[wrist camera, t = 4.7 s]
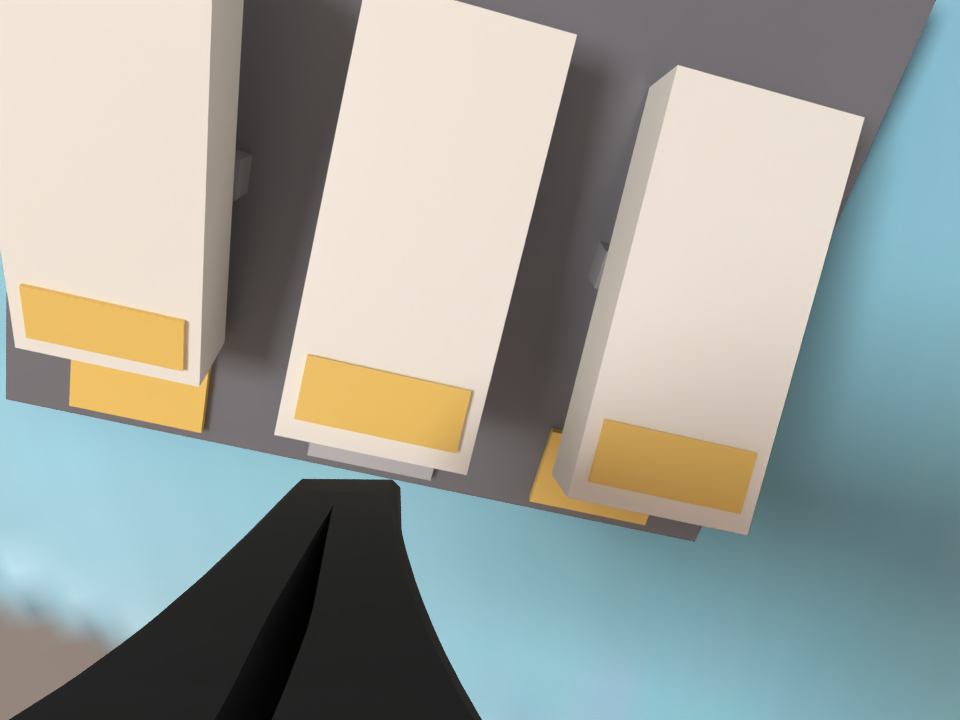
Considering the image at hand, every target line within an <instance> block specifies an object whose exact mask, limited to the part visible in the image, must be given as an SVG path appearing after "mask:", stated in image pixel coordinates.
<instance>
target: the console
mask: <svg viewBox="0 0 960 720" xmlns="http://www.w3.org/2000/svg"><path fill="white" fill-rule="evenodd" d="M456 1H459V2H463V3H466V4H470V5H473V6H477V7H481V8H484V9H488V10H491V11H495V12H498V13H502V14H505V15H509V16H513V17H516V18H520V19H523V20H527V21H530V22H534V23H537V24H541V25H545V26H548V27H552V28H555V29H559V30H562V31H566V32H569V33H573V34H576V35H577V37H576V41H575V45H574V49H573V53H572V57H571V61H570V65H569V69H568V73H567V77H566V81H565V85H564V89H563V93H562V97H561V101H560V105H559V109H558V113H557V117H556V121H555V125H554V128H553V132H552V136H551V140H550V144H549V148H548V152H547V156H546V160H545V164H544V168H543V172H542V176H541V180H540V184H539V188H538V192H537V196H536V200H535V204H534V208H533V212H532V216H531V220H530V224H529V228H528V232H527V236H526V240H525V244H524V248H523V252H522V256H521V260H520V264H519V268H518V272H517V276H516V280H515V284H514V288H513V292H512V296H511V300H510V304H509V308H508V312H507V316H506V320H505V324H504V328H503V332H502V336H501V340H500V344H499V348H498V352H497V356H496V360H495V364H494V368H493V372H492V376H491V380H490V384H489V388H488V392H487V396H486V400H485V404H484V408H483V412H482V416H481V420H480V424H479V428H478V432H477V436H476V440H475V444H474V448H473V452H472V456H471V460H470V464H469V468H468V472H467V475H463V474H458V473H454V472H449V471H444V470H439V469H435V468H430V467H425V466H420V465H416V464H411V463H406V462H401V461H396V460H392V459H387V458H382V457H377V456H373V455H368V454H363V453H358V452H354V451H349V450H344V449H339V448H334V447H330V446H325V445H320V444H315V443H311V442H306V441H301V440H296V439H292V438H287V437H282V436H277V435H274V433H275V428H276V423H277V418H278V413H279V408H280V403H281V398H282V394H283V389H284V384H285V379H286V374H287V369H288V364H289V359H290V354H291V349H292V344H293V339H294V334H295V330H296V325H297V320H298V315H299V310H300V305H301V300H302V295H303V290H304V285H305V280H306V275H307V270H308V266H309V261H310V256H311V251H312V246H313V241H314V236H315V231H316V226H317V221H318V216H319V211H320V206H321V202H322V197H323V192H324V187H325V182H326V177H327V172H328V167H329V162H330V157H331V152H332V147H333V142H334V138H335V133H336V128H337V123H338V118H339V113H340V108H341V103H342V98H343V93H344V88H345V83H346V78H347V74H348V69H349V64H350V59H351V54H352V49H353V44H354V39H355V34H356V29H357V24H358V19H359V14H360V10H361V5H362V0H244V5H243V23H242V41H241V58H240V76H239V94H238V112H237V130H236V148H235V166H234V184H233V201H232V219H231V237H230V255H229V273H228V291H227V309H226V327H225V343H224V344H223V346H222V348H221V350H220V351H219V353H218V355H217V357H216V359H215V360H214V362H213V364H212V366H211V367H210V369H209V371H208V373H207V374H206V376H205V378H204V380H203V382H202V383H201V385H200V387H197V386H192V385H187V384H183V383H178V382H173V381H169V380H164V379H159V378H155V377H150V376H145V375H141V374H136V373H132V372H127V371H122V370H118V369H113V368H108V367H104V366H99V365H94V364H90V363H85V362H80V361H76V360H71V359H66V358H62V357H57V356H52V355H48V354H43V353H38V352H34V351H29V350H24V349H20V348H15V342H14V336H13V329H12V322H11V316H10V309H9V302H8V296H7V315H6V399H8V400H13V401H18V402H22V403H27V404H32V405H37V406H42V407H47V408H51V409H56V410H61V411H66V412H71V413H76V414H80V415H85V416H90V417H95V418H100V419H105V420H109V421H114V422H119V423H124V424H129V425H134V426H139V427H143V428H148V429H153V430H158V431H163V432H168V433H172V434H177V435H182V436H187V437H192V438H197V439H201V440H206V441H211V442H216V443H221V444H226V445H230V446H235V447H240V448H245V449H250V450H255V451H259V452H264V453H269V454H274V455H279V456H284V457H288V458H293V459H298V460H303V461H308V462H313V463H317V464H322V465H327V466H332V467H337V468H342V469H346V470H351V471H356V472H361V473H366V474H371V475H375V476H380V477H385V478H390V479H395V480H400V481H404V482H409V483H414V484H419V485H424V486H429V487H433V488H438V489H443V490H448V491H453V492H458V493H462V494H467V495H472V496H477V497H482V498H487V499H491V500H496V501H501V502H506V503H511V504H516V505H520V506H525V507H530V508H535V509H540V510H545V511H549V512H554V513H559V514H564V515H569V516H574V517H579V518H583V519H588V520H593V521H598V522H603V523H608V524H612V525H617V526H622V527H627V528H632V529H637V530H641V531H646V532H651V533H656V534H661V535H666V536H670V537H675V538H680V539H685V540H690V541H695V540H696V537H697V535H698V533H699V531H700V528H701V526H700V525H695V524H690V523H685V522H681V521H676V520H671V519H666V518H662V517H657V516H652V515H647V514H643V513H638V512H633V511H628V510H623V509H619V508H614V507H609V506H604V505H600V504H595V503H590V502H585V501H580V500H576V499H571V498H567V496H566V495H565V493H564V492H563V490H562V489H561V487H560V486H559V484H558V483H557V481H556V480H555V478H554V477H553V476H552V472H553V468H554V464H555V460H556V456H557V452H558V448H559V444H560V440H561V436H562V432H563V428H564V424H565V420H566V416H567V412H568V409H569V405H570V401H571V397H572V393H573V389H574V385H575V381H576V377H577V373H578V369H579V365H580V361H581V357H582V353H583V349H584V345H585V341H586V337H587V333H588V329H589V325H590V321H591V317H592V313H593V309H594V305H595V301H596V297H597V293H598V289H599V286H600V282H601V278H602V274H603V270H604V266H605V262H606V258H607V254H608V250H609V246H610V242H611V238H612V234H613V230H614V226H615V222H616V218H617V214H618V210H619V206H620V202H621V198H622V194H623V190H624V186H625V182H626V178H627V174H628V170H629V166H630V163H631V159H632V155H633V151H634V147H635V143H636V139H637V135H638V131H639V127H640V123H641V119H642V115H643V111H644V107H645V103H646V99H647V95H648V91H649V87H651V86H652V85H653V84H654V83H656V82H657V81H658V80H659V79H661V78H662V77H663V76H664V75H666V74H667V73H668V72H669V71H671V70H672V69H673V68H675V67H676V66H677V65H680V66H683V67H687V68H690V69H694V70H698V71H701V72H705V73H708V74H712V75H715V76H719V77H722V78H726V79H730V80H733V81H737V82H740V83H744V84H747V85H751V86H754V87H758V88H762V89H765V90H769V91H772V92H776V93H779V94H783V95H786V96H790V97H794V98H797V99H801V100H804V101H808V102H811V103H815V104H818V105H822V106H826V107H829V108H833V109H836V110H840V111H843V112H847V113H850V114H854V115H858V116H861V117H865V118H864V122H863V125H862V129H861V132H860V136H859V140H858V143H857V147H856V150H855V154H854V157H853V161H852V164H851V168H850V172H849V175H848V179H847V182H846V186H845V189H844V193H843V197H842V200H841V204H840V207H839V211H838V214H837V218H836V222H835V225H836V223H837V221H838V219H839V217H840V214H841V212H842V210H843V208H844V205H845V203H846V201H847V199H848V196H849V194H850V192H851V190H852V187H853V185H854V183H855V181H856V178H857V176H858V174H859V172H860V169H861V167H862V165H863V163H864V160H865V158H866V156H867V154H868V151H869V149H870V147H871V145H872V142H873V140H874V138H875V136H876V134H877V131H878V129H879V127H880V125H881V122H882V120H883V118H884V116H885V113H886V111H887V109H888V107H889V104H890V102H891V100H892V98H893V95H894V93H895V91H896V89H897V86H898V84H899V82H900V80H901V77H902V75H903V73H904V71H905V68H906V66H907V64H908V62H909V59H910V57H911V55H912V53H913V51H914V48H915V46H916V44H917V42H918V39H919V37H920V35H921V33H922V30H923V28H924V26H925V24H926V21H927V19H928V17H929V15H930V12H931V10H932V8H933V6H934V3H935V1H936V0H456ZM835 225H834V228H835ZM833 230H834V229H833Z"/></svg>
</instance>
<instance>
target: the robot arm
mask: <svg viewBox="0 0 960 720" xmlns="http://www.w3.org/2000/svg"><path fill="white" fill-rule="evenodd" d="M9 720H482V719H481V718H480V716H479V714H478V713H477V711H476V709H475V707H474V706H473V704H472V702H471V700H470V699H469V697H468V695H467V693H466V692H465V690H464V688H463V686H462V685H461V683H460V681H459V679H458V677H457V675H456V673H455V671H454V669H453V667H452V665H451V663H450V661H449V660H448V658H447V656H446V654H445V651H444V649H443V647H442V645H441V643H440V641H439V639H438V636H437V634H436V632H435V630H434V627H433V625H432V623H431V620H430V618H429V615H428V613H427V610H426V608H425V606H424V603H423V601H422V598H421V595H420V593H419V590H418V587H417V584H416V581H415V578H414V575H413V572H412V568H411V565H410V562H409V559H408V555H407V552H406V548H405V544H404V540H403V536H402V530H401V496H400V487H399V486H398V485H397V484H396V483H395V482H394V481H393V480H362V479H302V480H301V481H300V482H299V483H297V484H296V485H295V486H294V487H293V488H292V489H291V490H290V491H289V492H288V493H287V494H286V495H285V496H284V497H283V498H282V499H281V500H280V501H279V502H278V503H277V504H276V505H275V506H274V507H273V508H272V509H271V510H270V511H269V512H268V513H267V514H266V515H265V516H264V518H263V519H262V520H261V521H260V522H259V523H258V524H257V525H256V526H255V527H254V528H253V529H252V530H251V531H250V532H249V533H248V534H247V535H246V536H245V537H244V538H243V539H242V540H240V541H239V542H238V543H237V544H236V545H235V546H234V547H233V548H232V549H231V550H230V551H229V552H228V553H227V554H226V555H225V556H224V557H223V558H222V559H221V560H220V561H219V562H217V563H216V564H215V565H214V566H213V567H212V568H211V569H210V570H209V571H208V572H207V573H206V574H205V575H204V576H203V577H201V578H200V579H199V580H198V581H197V582H196V583H195V584H193V585H192V586H191V587H190V588H189V589H188V590H187V591H185V592H184V593H183V594H182V595H181V596H180V597H178V598H177V599H176V600H175V601H174V602H173V603H171V604H170V605H169V606H168V607H167V608H166V609H165V610H163V611H162V612H161V613H160V614H159V615H158V616H156V617H155V618H154V619H153V620H152V621H150V622H149V623H148V624H147V625H145V626H144V627H143V628H141V629H140V630H139V631H138V632H136V633H135V634H134V635H132V636H131V637H130V638H128V639H127V640H126V641H125V642H123V643H122V644H121V645H119V646H118V647H116V648H115V649H114V650H112V651H111V652H110V653H108V654H107V655H105V656H104V657H103V658H101V659H100V660H99V661H97V662H96V663H94V664H93V665H92V666H90V667H89V668H87V669H86V670H85V671H83V672H82V673H81V674H79V675H78V676H76V677H75V678H73V679H72V680H70V681H69V682H67V683H66V684H65V685H63V686H61V687H60V688H58V689H57V690H55V691H54V692H52V693H51V694H49V695H47V696H46V697H44V698H43V699H41V700H39V701H38V702H36V703H35V704H33V705H32V706H30V707H28V708H27V709H25V710H24V711H22V712H21V713H19V714H17V715H16V716H14V717H13V718H11V719H9Z"/></svg>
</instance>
